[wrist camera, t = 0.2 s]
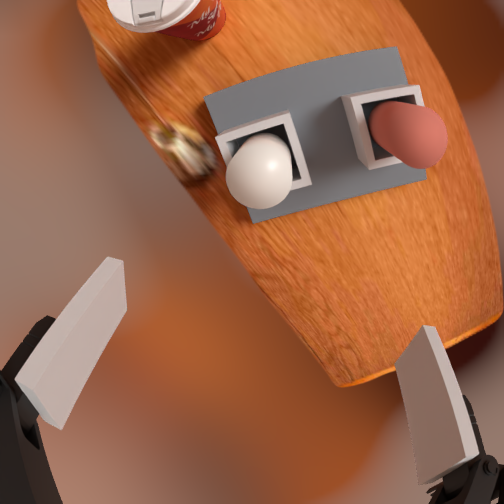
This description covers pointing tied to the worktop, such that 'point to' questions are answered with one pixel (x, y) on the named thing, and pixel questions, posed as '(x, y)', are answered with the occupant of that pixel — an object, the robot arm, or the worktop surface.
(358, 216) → the worktop surface
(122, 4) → the coffee cup
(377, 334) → the worktop surface
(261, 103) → the board
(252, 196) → the plug
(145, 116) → the worktop surface
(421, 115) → the red plug
